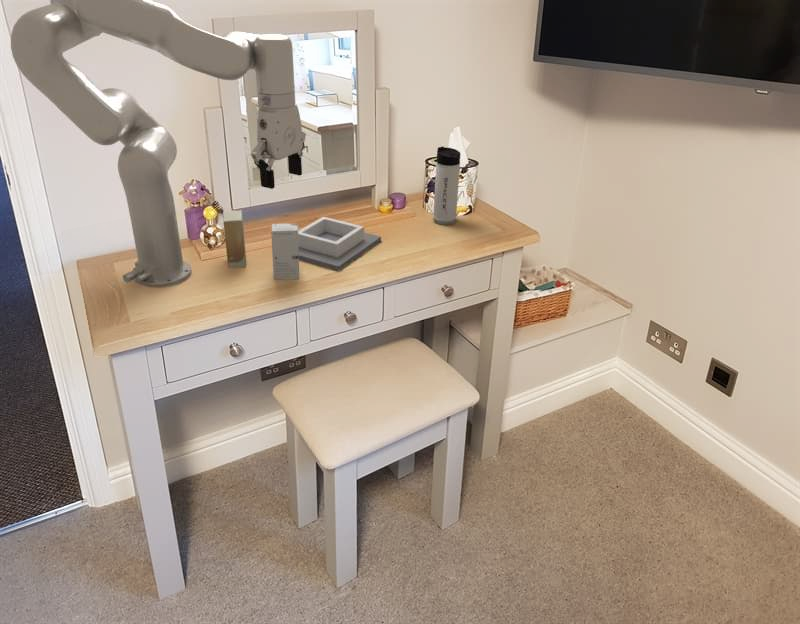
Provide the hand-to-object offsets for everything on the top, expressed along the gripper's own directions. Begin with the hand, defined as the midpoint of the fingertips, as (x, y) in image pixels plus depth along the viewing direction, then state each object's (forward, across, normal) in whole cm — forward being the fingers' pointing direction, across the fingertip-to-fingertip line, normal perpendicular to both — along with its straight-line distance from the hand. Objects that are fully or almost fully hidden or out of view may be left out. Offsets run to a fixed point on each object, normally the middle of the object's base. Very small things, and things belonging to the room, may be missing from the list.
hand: (282, 180), depth 149 cm
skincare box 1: (+23, -1, +14) cm, 27 cm away
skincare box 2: (+23, 0, 0) cm, 23 cm away
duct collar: (+23, +18, 0) cm, 29 cm away
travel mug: (+23, +49, -17) cm, 57 cm away
